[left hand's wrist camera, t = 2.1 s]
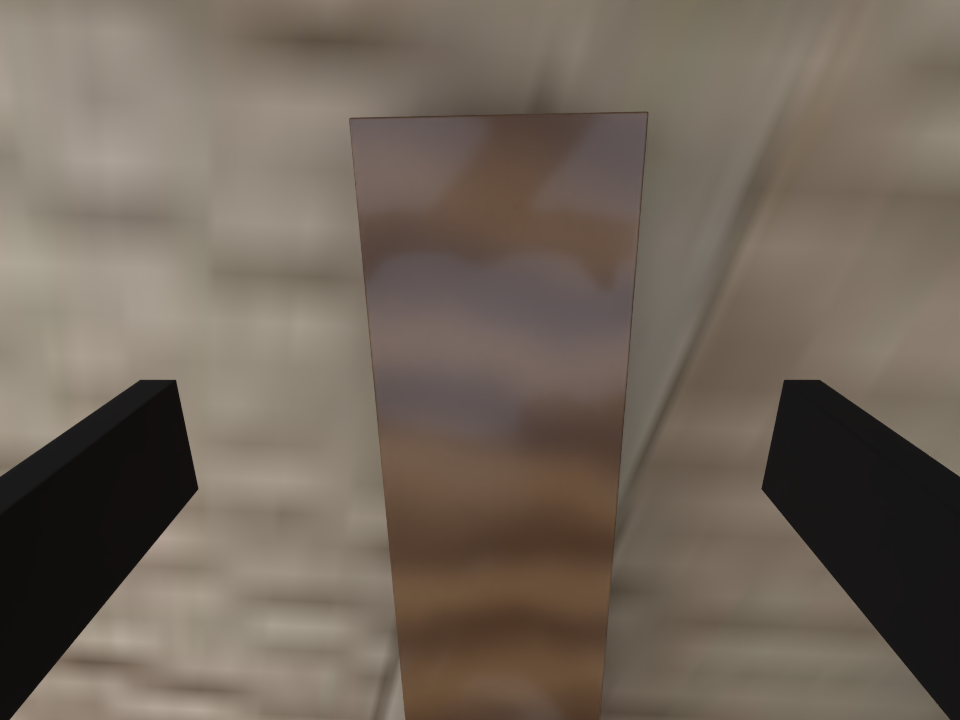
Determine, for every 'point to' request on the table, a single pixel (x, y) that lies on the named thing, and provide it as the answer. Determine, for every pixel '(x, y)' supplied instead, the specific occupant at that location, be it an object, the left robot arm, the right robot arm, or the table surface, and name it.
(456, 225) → the narrow beam
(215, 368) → the table surface
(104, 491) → the left robot arm
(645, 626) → the table surface
